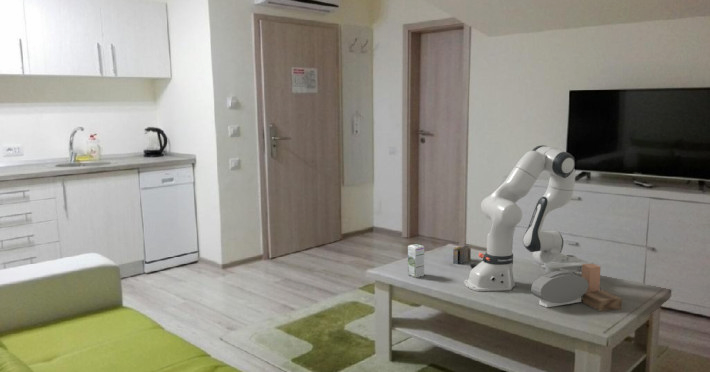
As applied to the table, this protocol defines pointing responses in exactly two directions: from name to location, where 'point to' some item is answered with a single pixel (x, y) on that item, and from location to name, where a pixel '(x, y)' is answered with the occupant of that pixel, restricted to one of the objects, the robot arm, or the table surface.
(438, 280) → the table surface
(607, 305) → the block
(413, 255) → the syrup box
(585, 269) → the terracotta block
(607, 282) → the table surface
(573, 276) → the alarm clock
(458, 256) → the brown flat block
